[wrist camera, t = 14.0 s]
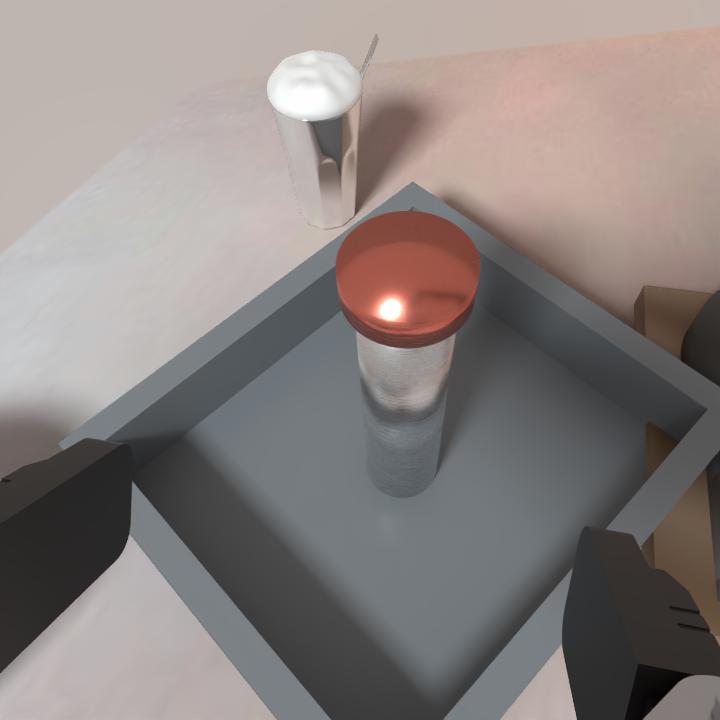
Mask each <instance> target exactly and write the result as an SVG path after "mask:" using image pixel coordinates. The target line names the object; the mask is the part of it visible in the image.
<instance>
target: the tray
mask: <svg viewBox="0 0 720 720" xmlns="http://www.w3.org/2000/svg"><path fill="white" fill-rule="evenodd" d="M397 211H418V212H425V213H430V214H434V215H437V216H440V217H442V218H444V219H446V220H449V221H450V222H452V223H454V224H455V225H457V226H458V227H459V228H461V229H462V230H463V231H464V232H465V233H466V234H467V235H468V236H469V237H470V239H471V240H472V241H473V243H474V245H475V247H476V249H477V251H478V254H479V259H480V274H479V280H478V286H477V292H476V298H475V304H474V307H473V310H472V313H471V315H470V317H469V319H468V320H467V321H466V323H465V324H464V325H463V326H462V327H461V328H460V329H459V330H458V331H457V332H456V335H455V342H454V349H453V356H452V363H451V371H450V378H449V385H448V392H447V399H446V407H445V414H444V421H443V428H442V435H441V442H440V450H439V457H438V464H437V471H436V475H435V478H434V480H433V482H432V483H431V485H430V486H429V487H428V488H427V489H426V490H425V491H423V492H422V493H420V494H418V495H416V496H413V497H408V498H397V497H392V496H389V495H387V494H385V493H383V492H382V491H380V490H379V489H378V488H377V487H376V486H375V485H374V484H373V482H372V481H371V479H370V477H369V474H368V470H367V459H366V447H365V435H364V423H363V410H362V398H361V386H360V374H359V362H358V350H357V338H356V330H355V329H354V328H353V327H352V326H351V325H350V323H349V322H348V321H347V319H346V318H345V316H344V314H343V312H342V309H341V307H340V302H339V296H338V287H337V278H336V265H335V264H336V257H337V254H338V250H339V248H340V246H341V244H342V242H343V241H344V240H345V238H346V237H347V236H348V235H349V234H350V232H351V231H353V230H354V229H355V228H356V227H357V226H359V225H360V224H362V223H363V222H365V221H367V220H369V219H371V218H373V217H376V216H379V215H382V214H386V213H390V212H397ZM649 421H650V422H652V423H653V424H654V425H656V426H657V427H658V428H660V429H661V430H663V431H664V432H665V433H667V434H668V435H669V436H671V437H672V438H674V439H675V440H676V441H678V442H679V444H678V445H677V446H676V447H675V448H674V449H673V451H672V452H671V453H670V454H669V455H668V456H667V458H666V459H665V460H664V461H663V462H662V463H661V465H660V466H659V467H658V468H657V469H656V470H655V472H654V473H653V474H652V475H651V476H650V478H649V479H648V480H647V455H646V428H645V426H646V425H647V423H648V422H649ZM84 438H94V439H100V440H105V441H111V442H117V443H122V444H127V445H129V447H130V448H131V450H132V454H133V476H132V503H131V526H130V532H129V534H130V535H131V536H132V538H133V539H134V540H135V541H136V543H137V544H138V545H139V546H140V548H141V549H142V550H143V551H144V553H145V554H146V555H147V556H148V558H149V559H150V560H151V562H152V563H153V564H154V565H155V567H156V568H157V569H158V570H159V572H160V573H161V574H162V575H163V577H164V578H165V579H166V580H167V582H168V583H169V584H170V585H171V587H172V588H173V589H174V591H175V592H176V593H177V594H178V596H179V597H180V598H181V599H182V601H183V602H184V603H185V604H186V606H187V607H188V608H189V609H190V611H191V612H192V613H193V614H194V616H195V617H196V618H197V620H198V621H199V622H200V623H201V625H202V626H203V627H204V628H205V630H206V631H207V632H208V633H209V635H210V636H211V637H212V638H213V640H214V641H215V642H216V643H217V645H218V646H219V647H220V649H221V650H222V651H223V652H224V654H225V655H226V656H227V657H228V659H229V660H230V661H231V662H232V664H233V665H234V666H235V667H236V669H237V670H238V671H239V672H240V674H241V675H242V676H243V678H244V679H245V680H246V681H247V683H248V684H249V685H250V686H251V688H252V689H253V690H254V691H255V693H256V694H257V695H258V696H259V698H260V699H261V700H262V701H263V703H264V704H265V705H266V706H267V708H268V709H269V710H270V712H271V713H272V714H273V715H274V717H275V718H276V719H277V720H500V719H501V717H502V716H503V715H504V714H505V712H506V711H507V710H508V709H509V708H510V706H511V705H512V704H513V703H514V701H515V700H516V699H517V698H518V697H519V695H520V694H521V693H522V692H523V690H524V689H525V688H526V687H527V686H528V684H529V683H530V682H531V681H532V679H533V678H534V677H535V676H536V674H537V673H538V672H539V671H540V670H541V668H542V667H543V666H544V665H545V663H546V662H547V661H548V660H549V659H550V657H551V656H552V655H553V654H554V652H555V651H556V650H557V649H558V648H559V646H560V645H561V644H562V623H563V614H564V609H565V604H566V599H567V594H568V589H569V585H570V580H571V575H572V570H573V566H574V561H575V556H576V551H577V546H578V542H579V538H580V534H581V532H582V530H583V528H584V527H585V526H589V527H595V528H600V529H606V530H612V531H617V532H623V533H629V534H632V535H633V536H634V537H635V539H636V541H637V543H638V545H639V547H641V546H642V545H643V543H644V542H645V541H646V540H647V538H648V537H649V536H650V535H651V534H652V532H653V531H654V530H655V529H656V527H657V526H658V525H659V524H660V523H661V521H662V520H663V519H664V518H665V516H666V515H667V514H668V513H669V512H670V510H671V509H672V508H673V507H674V505H675V504H676V503H677V502H678V500H679V499H680V498H681V497H682V496H683V494H684V493H685V492H686V491H687V489H688V488H689V487H690V486H691V485H692V483H693V482H694V481H695V480H696V478H697V477H698V476H699V475H700V474H701V472H702V471H703V470H704V469H705V467H706V466H707V465H708V464H709V462H710V461H711V460H712V459H713V458H714V456H715V455H716V454H717V453H718V451H719V450H720V387H719V386H717V385H716V384H715V383H713V382H712V381H710V380H709V379H707V378H706V377H704V376H703V375H701V374H700V373H698V372H697V371H695V370H694V369H692V368H691V367H689V366H688V365H686V364H685V363H683V362H682V361H680V360H679V359H677V358H676V357H674V356H673V355H671V354H670V353H668V352H667V351H665V350H664V349H662V348H661V347H659V346H658V345H656V344H655V343H653V342H652V341H650V340H649V339H647V338H646V337H644V336H643V335H641V334H640V333H638V332H637V331H635V330H634V329H632V328H631V327H629V326H628V325H626V324H625V323H623V322H622V321H620V320H619V319H617V318H616V317H614V316H613V315H611V314H610V313H608V312H607V311H605V310H604V309H602V308H601V307H599V306H598V305H596V304H595V303H593V302H592V301H590V300H589V299H587V298H586V297H584V296H583V295H581V294H580V293H578V292H577V291H575V290H574V289H572V288H571V287H569V286H568V285H566V284H565V283H563V282H562V281H560V280H559V279H558V278H556V277H555V276H553V275H552V274H550V273H549V272H547V271H546V270H544V269H543V268H541V267H540V266H538V265H537V264H535V263H534V262H532V261H531V260H529V259H528V258H526V257H525V256H523V255H522V254H520V253H519V252H517V251H516V250H514V249H513V248H511V247H510V246H508V245H507V244H505V243H504V242H502V241H501V240H499V239H498V238H496V237H495V236H493V235H492V234H490V233H489V232H487V231H486V230H484V229H483V228H481V227H480V226H478V225H477V224H475V223H474V222H472V221H471V220H469V219H468V218H466V217H465V216H463V215H462V214H460V213H459V212H457V211H456V210H454V209H453V208H451V207H450V206H448V205H447V204H445V203H444V202H442V201H441V200H439V199H438V198H436V197H435V196H433V195H432V194H430V193H429V192H427V191H426V190H424V189H423V188H421V187H420V186H418V185H417V184H415V183H414V182H411V183H410V184H409V185H407V186H406V187H405V188H403V189H402V190H401V191H399V192H398V193H397V194H395V195H394V196H392V197H391V198H390V199H388V200H387V201H386V202H384V203H383V204H382V205H380V206H379V207H378V208H376V209H375V210H373V211H372V212H371V213H369V214H368V215H367V216H365V217H364V218H363V219H361V220H360V221H359V222H357V223H356V224H355V225H353V226H352V227H350V228H349V229H348V230H346V231H345V232H344V233H342V234H341V235H340V236H338V237H337V238H336V239H334V240H333V241H331V242H330V243H329V244H327V245H326V246H325V247H323V248H322V249H321V250H319V251H318V252H317V253H315V254H314V255H312V256H311V257H310V258H308V259H307V260H306V261H304V262H303V263H302V264H300V265H299V266H298V267H296V268H295V269H294V270H292V271H291V272H289V273H288V274H287V275H285V276H284V277H283V278H281V279H280V280H279V281H277V282H276V283H275V284H273V285H272V286H270V287H269V288H268V289H266V290H265V291H264V292H262V293H261V294H260V295H258V296H257V297H256V298H254V299H253V300H251V301H250V302H249V303H247V304H246V305H245V306H243V307H242V308H241V309H239V310H238V311H237V312H235V313H234V314H233V315H231V316H230V317H228V318H227V319H226V320H224V321H223V322H222V323H220V324H219V325H218V326H216V327H215V328H214V329H212V330H211V331H209V332H208V333H207V334H205V335H204V336H203V337H201V338H200V339H199V340H197V341H196V342H195V343H193V344H192V345H190V346H189V347H188V348H186V349H185V350H184V351H182V352H181V353H180V354H178V355H177V356H176V357H174V358H173V359H172V360H170V361H169V362H167V363H166V364H165V365H163V366H162V367H161V368H159V369H158V370H157V371H155V372H154V373H153V374H151V375H150V376H148V377H147V378H146V379H144V380H143V381H142V382H140V383H139V384H138V385H136V386H135V387H134V388H132V389H131V390H129V391H128V392H127V393H125V394H124V395H123V396H121V397H120V398H119V399H117V400H116V401H115V402H113V403H112V404H111V405H109V406H108V407H106V408H105V409H104V410H102V411H101V412H100V413H98V414H97V415H96V416H94V417H93V418H92V419H90V420H89V421H87V422H86V423H85V424H83V425H82V426H81V427H79V428H78V429H77V430H75V431H74V432H73V433H71V434H70V435H68V436H67V437H66V438H64V439H63V440H62V441H60V442H59V443H58V444H59V446H60V447H61V448H62V449H63V450H65V449H67V448H69V447H70V446H72V445H74V444H75V443H77V442H79V441H81V440H82V439H84Z"/></svg>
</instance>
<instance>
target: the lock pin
mask: <svg viewBox="0 0 720 720" xmlns="http://www.w3.org/2000/svg"><path fill="white" fill-rule="evenodd" d="M335 265H336V278H337V287H338V296H339V302H340V307H341V309H342V312H343V314H344V316H345V318H346V319H347V321H348V322H349V323H350V325H351V326H352V327H353V328H354V329H355V330H356V338H357V350H358V362H359V374H360V386H361V398H362V410H363V423H364V435H365V447H366V459H367V470H368V474H369V477H370V479H371V481H372V482H373V484H374V485H375V486H376V487H377V488H378V489H379V490H380V491H382V492H383V493H385V494H387V495H389V496H392V497H397V498H408V497H413V496H416V495H418V494H420V493H422V492H423V491H425V490H426V489H427V488H428V487H429V486H430V485H431V483H432V482H433V480H434V478H435V475H436V471H437V464H438V457H439V450H440V442H441V435H442V428H443V421H444V414H445V407H446V399H447V392H448V385H449V378H450V371H451V363H452V356H453V349H454V342H455V335H456V332H457V331H458V330H459V329H460V328H461V327H462V326H463V325H464V324H465V323H466V321H467V320H468V319H469V317H470V315H471V313H472V310H473V307H474V304H475V298H476V292H477V286H478V280H479V274H480V259H479V254H478V251H477V249H476V247H475V245H474V243H473V241H472V240H471V239H470V237H469V236H468V235H467V234H466V233H465V232H464V231H463V230H462V229H461V228H459V227H458V226H457V225H455V224H454V223H452V222H450V221H449V220H446V219H444V218H442V217H440V216H437V215H434V214H430V213H425V212H418V211H397V212H390V213H386V214H382V215H379V216H376V217H373V218H371V219H369V220H367V221H365V222H363V223H362V224H360V225H359V226H357V227H356V228H355V229H354V230H353V231H351V232H350V234H349V235H348V236H347V237H346V238H345V240H344V241H343V242H342V244H341V246H340V248H339V250H338V254H337V257H336V264H335Z"/></svg>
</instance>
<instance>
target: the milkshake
mask: <svg viewBox="0 0 720 720" xmlns="http://www.w3.org/2000/svg"><path fill="white" fill-rule="evenodd" d="M377 42H378V36H377V34H376V35H375V37H374V39H373V42H372V44H371V47H370V49H369V52H368V54H367V57H366V59H365V62H364V64H363V67H362V69H361V72H360V73H359V71H358V70H357V68H356V67H355V66H354V65H353V64H352V63H351V62H350V61H349V60H347V59H346V58H344V57H343V56H341V55H338V54H335V53H331V52H325V51H316V50H311V51H307V52H304V53H300V54H296V55H292V56H289V57H287V58H285V59H284V60H283V61H282V62H281V63H280V64H279V65H278V66H277V67H276V69H275V70H274V71H273V73H272V75H271V76H270V78H269V80H268V84H267V93H268V98H269V101H270V105H271V108H272V111H273V115H274V118H275V122H276V125H277V128H278V132H279V135H280V139H281V142H282V146H283V150H284V154H285V158H286V162H287V166H288V169H289V173H290V177H291V181H292V185H293V189H294V193H295V196H296V200H297V204H298V208H299V212H300V214H301V215H302V216H303V218H304V219H305V220H306V222H307V223H308V224H309V225H312V226H315V227H319V228H322V229H329V228H334V227H340V226H343V225H344V224H345V223H346V222H347V221H349V220H350V219H351V218H352V217H353V216H354V214H355V206H356V193H357V166H358V141H359V132H360V121H361V108H362V94H363V81H362V80H363V77H364V75H365V72H366V70H367V67H368V65H369V62H370V60H371V57H372V55H373V52H374V50H375V47H376V45H377Z"/></svg>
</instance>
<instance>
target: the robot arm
mask: <svg viewBox="0 0 720 720" xmlns="http://www.w3.org/2000/svg"><path fill="white" fill-rule="evenodd" d="M132 476H133V454H132V450H131V448H130V447H129V445H127V444H122V443H117V442H111V441H105V440H100V439H94V438H84V439H82V440H81V441H79V442H77V443H75V444H74V445H72V446H70V447H69V448H67V449H65V450H63V451H62V452H60V453H58V454H56V455H55V456H53V457H51V458H50V459H47V460H44V461H41V462H37V463H34V464H30V465H27V466H24V467H22V468H20V469H18V470H17V471H15V472H13V473H11V474H9V475H8V476H6V477H4V478H2V481H1V482H0V673H1V672H2V671H3V670H4V669H5V668H6V667H7V666H8V665H9V664H10V663H11V662H12V661H13V660H14V659H15V658H16V657H17V656H18V655H19V654H20V653H21V652H22V651H23V650H24V649H25V648H26V647H27V646H29V645H30V644H31V643H32V642H33V641H34V640H35V639H36V638H37V637H38V636H39V635H40V634H41V633H42V632H43V631H44V630H45V629H46V628H47V627H48V626H49V625H50V624H51V623H52V622H53V621H54V620H55V619H56V618H57V617H58V616H59V615H60V614H61V613H62V612H64V611H65V610H66V609H67V608H68V607H69V606H70V605H71V604H72V603H73V602H74V601H75V600H76V599H77V598H78V597H79V596H80V595H81V594H82V593H83V592H84V591H85V590H86V589H87V588H88V587H89V586H90V585H91V584H92V583H93V582H94V581H95V580H96V579H97V578H98V577H100V576H101V575H102V574H103V573H104V572H105V571H106V570H107V569H108V568H109V567H110V566H111V565H112V564H113V563H114V562H115V561H116V560H117V559H118V558H119V556H120V555H121V553H122V552H123V550H124V548H125V545H126V543H127V540H128V537H129V532H130V526H131V503H132ZM562 648H563V654H564V658H565V663H566V668H567V673H568V678H569V683H570V688H571V693H572V697H573V702H574V707H575V712H576V717H577V720H720V645H719V643H718V642H717V640H716V638H715V636H714V635H713V634H711V633H710V628H709V626H708V624H707V622H706V621H705V619H704V617H703V616H701V615H700V610H699V608H698V607H697V605H696V603H695V601H694V600H693V598H692V596H691V594H690V593H689V591H688V590H687V589H686V588H685V587H684V586H682V585H681V584H680V583H679V582H678V581H677V580H675V579H674V578H673V577H672V576H671V575H670V574H668V573H667V572H666V571H665V570H661V569H656V568H650V567H649V566H648V563H647V561H646V559H645V557H644V555H643V553H642V551H641V549H640V547H639V545H638V543H637V541H636V539H635V537H634V536H633V535H632V534H629V533H623V532H617V531H612V530H606V529H600V528H595V527H589V526H585V527H584V528H583V530H582V532H581V534H580V538H579V542H578V546H577V551H576V556H575V561H574V566H573V570H572V575H571V580H570V585H569V589H568V594H567V599H566V604H565V609H564V614H563V623H562Z"/></svg>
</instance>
